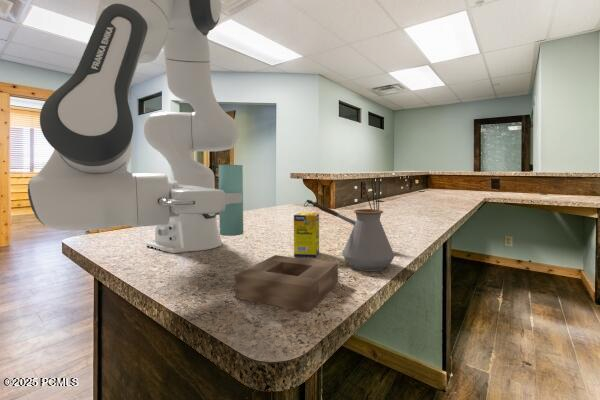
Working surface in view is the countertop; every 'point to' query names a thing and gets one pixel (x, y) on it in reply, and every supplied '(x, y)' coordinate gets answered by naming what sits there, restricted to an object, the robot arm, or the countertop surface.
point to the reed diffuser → (373, 194)
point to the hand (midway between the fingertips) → (235, 196)
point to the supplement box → (306, 234)
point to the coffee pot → (365, 240)
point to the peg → (233, 212)
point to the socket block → (287, 282)
